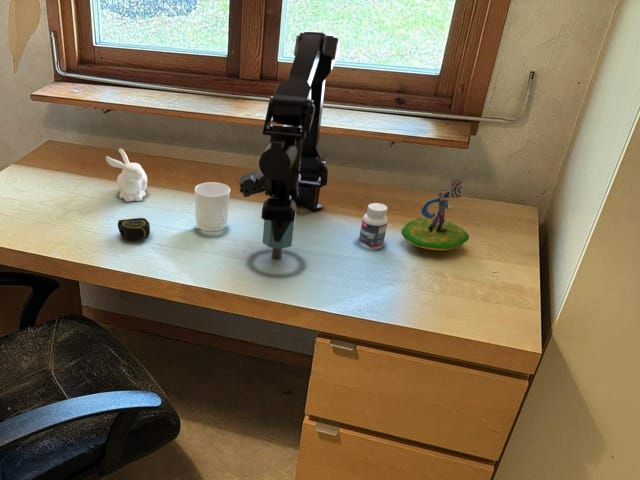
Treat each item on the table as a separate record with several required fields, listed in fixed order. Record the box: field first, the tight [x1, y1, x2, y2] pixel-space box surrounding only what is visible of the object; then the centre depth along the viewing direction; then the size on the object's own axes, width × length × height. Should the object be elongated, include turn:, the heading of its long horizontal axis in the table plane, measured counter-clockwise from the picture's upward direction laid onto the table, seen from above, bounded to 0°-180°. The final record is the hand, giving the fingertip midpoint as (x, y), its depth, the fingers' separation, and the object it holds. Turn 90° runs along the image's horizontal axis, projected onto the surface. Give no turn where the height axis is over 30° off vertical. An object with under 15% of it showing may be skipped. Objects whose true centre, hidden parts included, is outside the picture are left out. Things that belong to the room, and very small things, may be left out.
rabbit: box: [105, 147, 149, 203], centre depth 171 cm, size 12×9×12 cm
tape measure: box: [117, 217, 151, 242], centre depth 154 cm, size 7×7×4 cm
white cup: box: [194, 181, 231, 232], centre depth 155 cm, size 8×8×10 cm
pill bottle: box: [358, 202, 389, 250], centre depth 148 cm, size 5×5×9 cm
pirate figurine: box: [400, 178, 470, 251], centre depth 145 cm, size 14×13×15 cm
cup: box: [262, 212, 297, 250], centre depth 140 cm, size 6×6×7 cm
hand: (278, 234), depth 141 cm, fingers closed on cup, 6 cm apart
